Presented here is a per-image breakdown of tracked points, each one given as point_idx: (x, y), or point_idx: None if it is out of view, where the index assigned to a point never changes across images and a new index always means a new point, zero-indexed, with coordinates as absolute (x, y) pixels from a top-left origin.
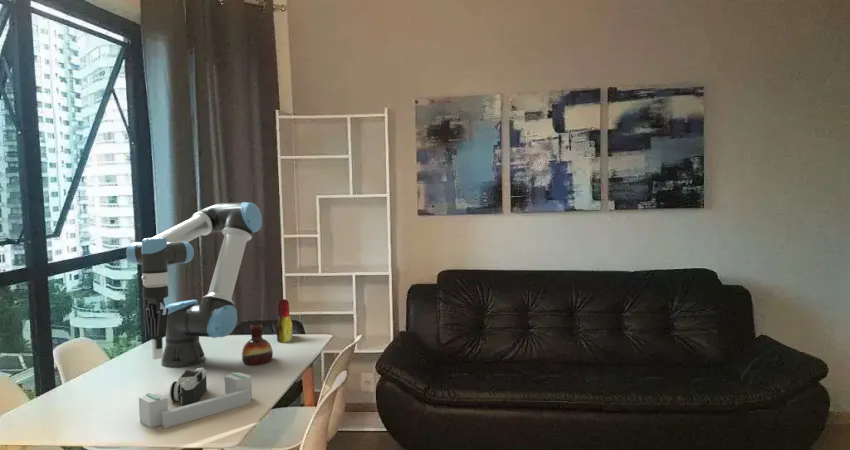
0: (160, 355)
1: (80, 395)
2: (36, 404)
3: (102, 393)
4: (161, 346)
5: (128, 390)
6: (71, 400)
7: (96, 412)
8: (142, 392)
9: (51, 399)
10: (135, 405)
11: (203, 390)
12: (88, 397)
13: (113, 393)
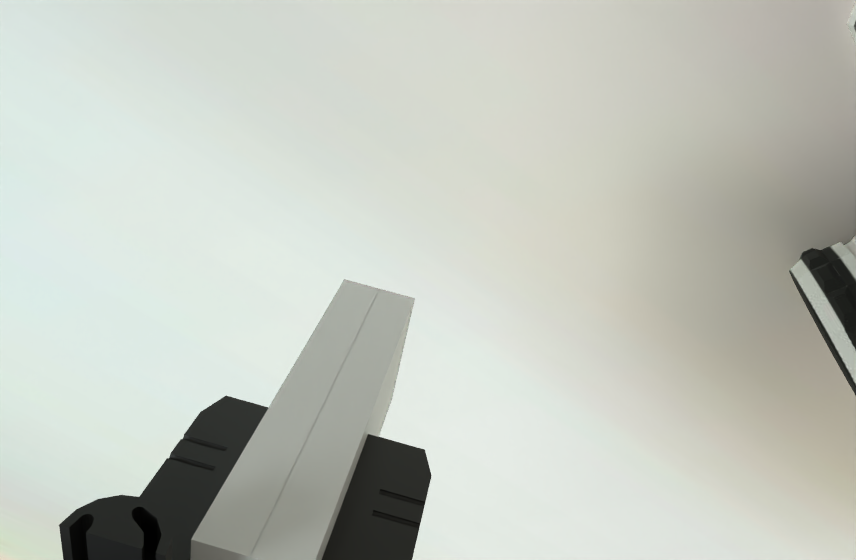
0: (398, 355)
1: (41, 406)
2: (42, 547)
3: (101, 340)
4: (425, 492)
5: (173, 231)
6: (106, 471)
7: (445, 552)
8: (318, 222)
9: (5, 488)
10: (556, 424)
11: None
12: (121, 414)
13: (160, 315)
